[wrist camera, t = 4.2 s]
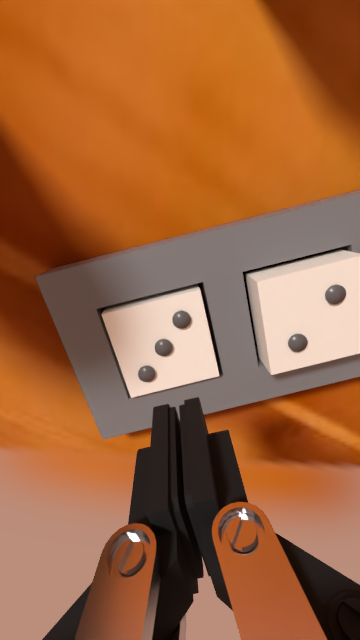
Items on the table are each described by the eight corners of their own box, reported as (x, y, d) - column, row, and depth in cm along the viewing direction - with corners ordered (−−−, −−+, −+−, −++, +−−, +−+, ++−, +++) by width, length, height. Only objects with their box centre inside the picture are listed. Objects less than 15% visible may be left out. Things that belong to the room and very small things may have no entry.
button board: (507, 151, 19) (557, 143, 17) (485, 324, 23) (522, 336, 21) (49, 269, 19) (34, 276, 17) (108, 416, 24) (102, 439, 21)
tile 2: (340, 249, 18) (367, 255, 16) (344, 336, 21) (369, 353, 18) (244, 273, 19) (258, 282, 16) (258, 357, 21) (272, 376, 18)
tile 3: (195, 280, 20) (200, 290, 17) (213, 359, 22) (220, 377, 19) (107, 302, 20) (100, 315, 17) (133, 378, 22) (130, 399, 20)
